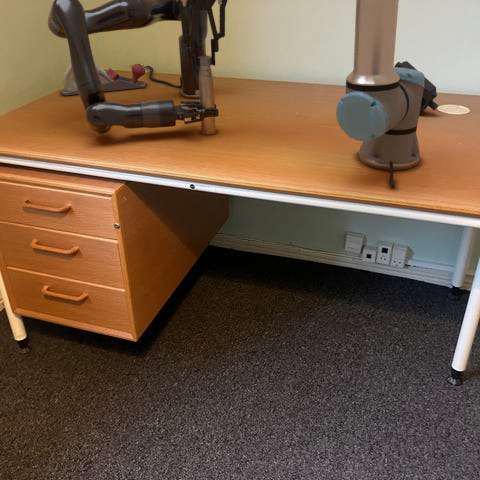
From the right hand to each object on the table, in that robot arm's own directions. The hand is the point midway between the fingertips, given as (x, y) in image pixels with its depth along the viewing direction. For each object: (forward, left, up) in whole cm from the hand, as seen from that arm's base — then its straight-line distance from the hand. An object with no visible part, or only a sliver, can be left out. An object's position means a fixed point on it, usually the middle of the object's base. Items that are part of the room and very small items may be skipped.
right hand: (205, 64), depth 148 cm
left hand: (0, -3, -13) cm, 13 cm away
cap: (0, 0, +2) cm, 2 cm away
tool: (+14, -63, -20) cm, 68 cm away
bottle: (0, 0, -20) cm, 20 cm away
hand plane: (+48, +39, -20) cm, 65 cm away
